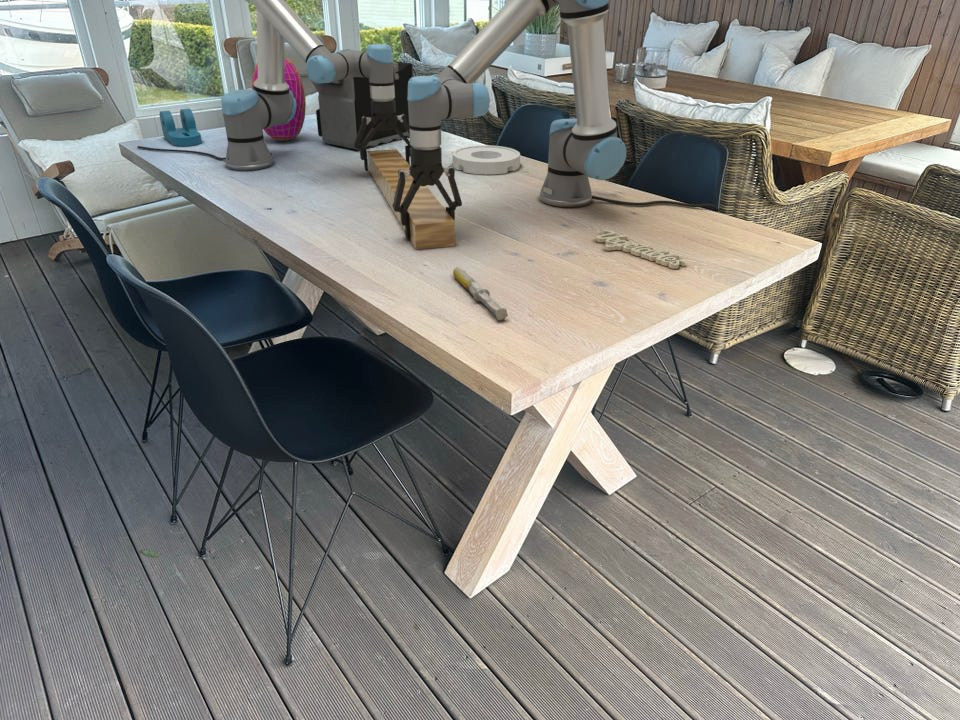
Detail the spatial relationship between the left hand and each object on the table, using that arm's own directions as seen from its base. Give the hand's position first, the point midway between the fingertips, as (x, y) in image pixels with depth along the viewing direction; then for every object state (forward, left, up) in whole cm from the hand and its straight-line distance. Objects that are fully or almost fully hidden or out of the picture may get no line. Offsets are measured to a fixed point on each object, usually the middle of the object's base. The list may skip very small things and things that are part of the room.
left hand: (387, 168), depth 223 cm
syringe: (+50, -83, -2) cm, 96 cm away
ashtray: (+28, +21, -2) cm, 35 cm away
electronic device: (-25, +46, -2) cm, 52 cm away
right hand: (+29, -51, -2) cm, 59 cm away
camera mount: (-91, +24, -2) cm, 94 cm away
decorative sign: (+81, -48, -2) cm, 94 cm away
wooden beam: (+14, -25, -2) cm, 29 cm away
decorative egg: (-55, +36, -2) cm, 66 cm away
